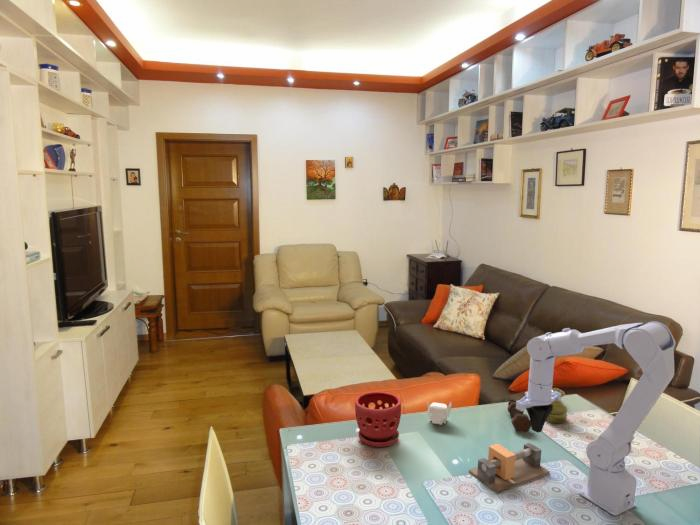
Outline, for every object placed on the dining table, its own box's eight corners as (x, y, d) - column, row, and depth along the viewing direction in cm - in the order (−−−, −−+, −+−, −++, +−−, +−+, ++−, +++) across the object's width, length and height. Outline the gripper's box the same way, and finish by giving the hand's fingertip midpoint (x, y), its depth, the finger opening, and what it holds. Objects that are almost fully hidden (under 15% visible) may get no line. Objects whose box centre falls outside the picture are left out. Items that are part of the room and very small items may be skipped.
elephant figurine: (423, 427, 151) (424, 405, 150) (427, 413, 161) (428, 392, 159) (448, 431, 149) (450, 409, 148) (452, 417, 158) (453, 395, 157)
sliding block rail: (549, 473, 128) (551, 455, 128) (497, 493, 120) (498, 474, 119) (519, 454, 137) (520, 437, 136) (468, 472, 129) (469, 454, 128)
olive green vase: (536, 415, 161) (538, 385, 159) (555, 412, 163) (558, 383, 161) (551, 426, 154) (554, 395, 152) (572, 422, 156) (574, 392, 154)
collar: (513, 476, 125) (515, 454, 124) (505, 480, 124) (506, 457, 123) (496, 464, 130) (497, 443, 129) (487, 467, 129) (488, 446, 128)
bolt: (514, 415, 165) (524, 436, 150) (501, 406, 165) (509, 427, 150) (524, 400, 164) (535, 421, 149) (511, 392, 164) (520, 412, 149)
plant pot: (400, 429, 150) (401, 391, 148) (399, 452, 137) (401, 411, 135) (356, 426, 151) (357, 388, 149) (352, 449, 139) (353, 408, 137)
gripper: (547, 371, 136) (543, 418, 138) (508, 380, 129) (504, 430, 131) (569, 380, 130) (565, 429, 132) (530, 390, 123) (526, 442, 125)
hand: (536, 430), depth 131 cm, fingers closed
